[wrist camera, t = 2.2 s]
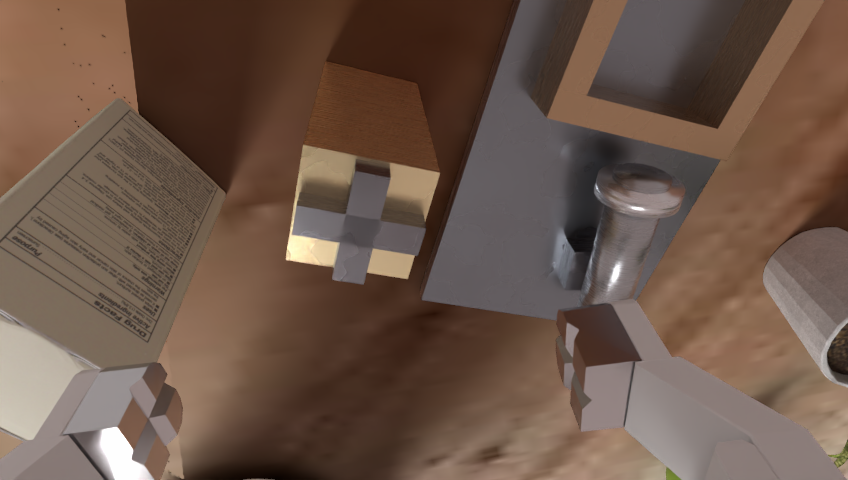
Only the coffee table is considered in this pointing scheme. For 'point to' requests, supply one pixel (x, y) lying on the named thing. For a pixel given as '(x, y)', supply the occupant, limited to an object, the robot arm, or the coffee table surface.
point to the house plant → (815, 298)
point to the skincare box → (95, 259)
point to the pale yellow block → (363, 177)
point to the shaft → (619, 232)
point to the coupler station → (597, 131)
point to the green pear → (671, 475)
